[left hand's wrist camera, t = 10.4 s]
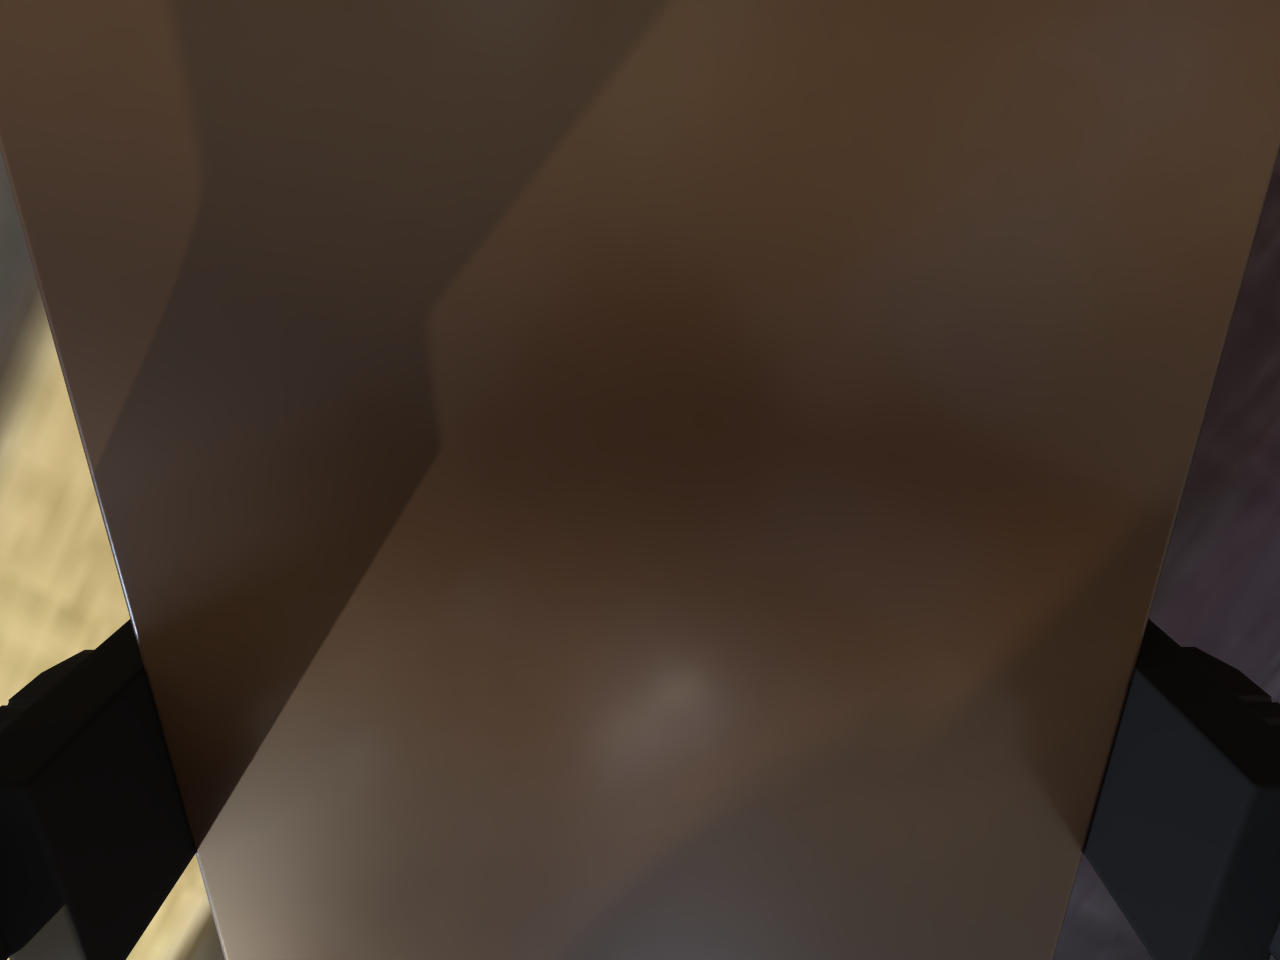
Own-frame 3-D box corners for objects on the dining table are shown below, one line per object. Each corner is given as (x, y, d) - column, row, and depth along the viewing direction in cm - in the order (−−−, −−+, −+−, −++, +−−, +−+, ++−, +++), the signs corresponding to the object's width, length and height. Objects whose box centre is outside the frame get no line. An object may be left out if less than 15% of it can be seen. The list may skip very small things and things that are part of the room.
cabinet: (279, -328, 12) (-404, -1274, 4) (1000, -326, 12) (1683, -1262, 4) (406, 655, 18) (235, 1009, 10) (871, 655, 18) (1042, 1009, 10)
